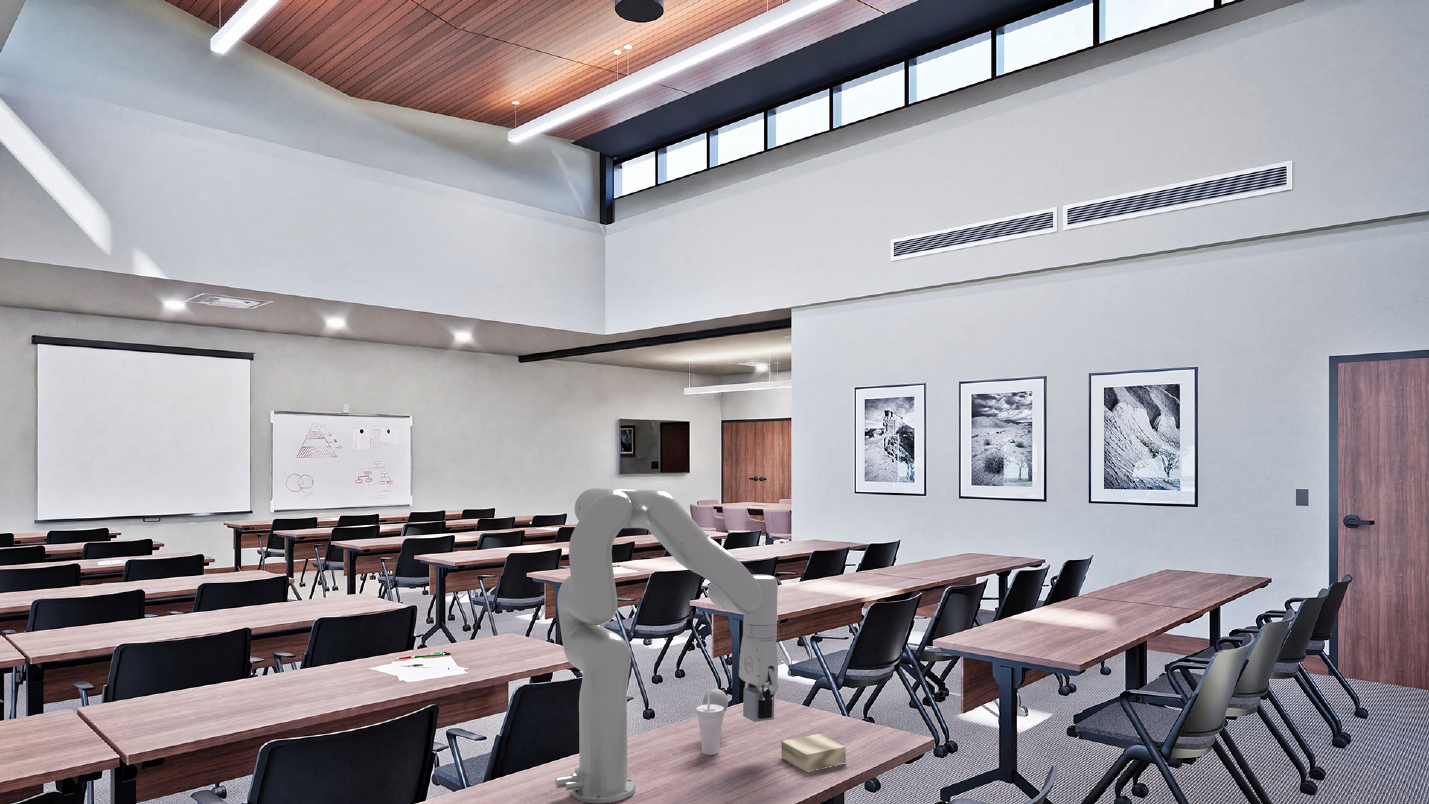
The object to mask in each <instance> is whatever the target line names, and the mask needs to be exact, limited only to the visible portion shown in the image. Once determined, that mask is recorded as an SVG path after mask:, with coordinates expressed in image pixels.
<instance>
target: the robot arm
mask: <svg viewBox="0 0 1429 804" xmlns="http://www.w3.org/2000/svg"><path fill="white" fill-rule="evenodd" d="M574 513H575V518H576V519H577V520H578V521H577V524H576V525H575V527H574V529H573V532H572V533H571V536H570V540H569V545H568V560H569V573H570V575H569V576H568V577H567V578H566V579H564V581H562V583H561V585H560V587H559V590H558V594H557V600H556V601H557V610H558V611H557V612H558V619H559V626H560V627H559V628H560V634H561V641H562V647H563V651H564V654H565V657H566V659H567V661H568V662H569V663H570V665H572V666H573V667H574V668H576V669H577V670H579V671H581V672H582V680H581V685H580V690H579V698H578V699H579V701H578V712H579V713H578V714H579V715H578V716H579V717H578V718H579V719H578V720H579V721H578V723H579V725H578V726H579V728H578V729H579V732H578V733H579V736H578V737H579V743H578V744H579V747H578V748H579V749H578V750H579V755H578V756H579V767H575V768H574V773H571V774H570V775H569V776H561V777H556V778H555V783H554V784H555V788H556V789H562V788H565V790H566V791H571V796H572V797H573V798H574V799H576V800H577V801H580V802H582V803H588V804H611V803H615V802H619V801H622V800H625V799H628V798H629V797H631V796H632V795H633V794H634V792H635V791H636V782H635V781H634V780H633V779H632V778H630V777H628V683H629V675H630V670H631V662H632V661H631V651H630V647H629V646H628V643H627V642H626V640H625V639H624V638H623V637H622V636H621V635H619V634H618V633H616V632H614V631H612V630H610V629H607V628H606V627H605V625H606V624H608V623H610V621H612V619H613V618H614V617H615V615H616V613H617V611H618V595H617V594H618V593H617V589H616V582H615V581H616V580H615V576H614V575H615V574H614V569H613V555H612V553H613V552H612V550H613V544H614V542H615V539H616V537H617V536H618V534H619V533H620V531H621V530H622V529H645V530H647V531H648V532H650V534H652V535H653V536H654V538H655V539H656V540H657V541H658V542H659V543H660V544H661V545H662V546H663V548H665V549H666V551H667V552H668V553H669V554H670V555H671V557H673V559H674V560H675V561H676V562H677V563H678V564H680V565H681V566H683V567H684V568H686V569H687V570H689V571H690V572H693V573H694V574H697V575H699V576H701V577H703V578H704V579H706V580H708V582H709V584H708V588H707V596H708V599H709V600H710V601H711V603H712V604H713V605H715V606H716V607H718V608H721V609H724V610H728V611H731V612H735V613H739V614H743V626H742V627H743V628H742V629H743V630H742V631H743V633H742V638H741V644H740V650H739V660H738V661H739V663H738V665H739V666H738V677H739V678H740V679H741V680H742V681H743V685H744V688H752V687H759V691H760V699H761V700H758V718H759V719H765V718H771V717H772V700H773V698H774V699H775V695H776V693H777V692H778V690H779V684H778V677H779V659H778V647H777V638H778V636H777V635H778V592H779V591H778V589H779V588H778V580H777V578H776V577H775V576H773V575H769V574H761V573H760V574H752V573H751V572H750V571H749V569H747V567H746V566H744V564H743V563H742V562H741V561H739V559H737V558H736V557H735V556H734V555H732V554H731V553H730V552H729V551H728V550H726V549H725V548H724V547H722V545H720V544H719V543H718V542H717V541H716V540H714V539H713V538H712V537H710V536H709V535H708V534H706V532H705V531H704V530H703V529H702V528H701V527H700V526H699V525H698V524H697V522H696V521H695V520H694V519H693V518H692V516H691V515H689V513H688V512H687V511H686V510H685V509H684V508H683V506H682V505H681V504H680V503H679V502H678V501H677V500H676V498H674V497H673V496H672V495H671V494H670V493H668V492H666V491H663V490H658V489H656V490H655V489H616V488H596V487H594V488H592V487H591V488H589V489H586V490H585V491H583V492H582V493H580V494H579V495H578V497H577V499H576V500H575V503H574ZM764 688H768V689H767V690H766V691H765V693H764Z"/></svg>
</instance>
